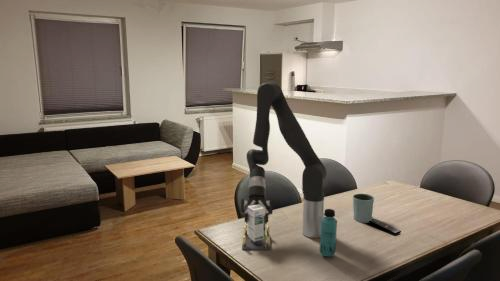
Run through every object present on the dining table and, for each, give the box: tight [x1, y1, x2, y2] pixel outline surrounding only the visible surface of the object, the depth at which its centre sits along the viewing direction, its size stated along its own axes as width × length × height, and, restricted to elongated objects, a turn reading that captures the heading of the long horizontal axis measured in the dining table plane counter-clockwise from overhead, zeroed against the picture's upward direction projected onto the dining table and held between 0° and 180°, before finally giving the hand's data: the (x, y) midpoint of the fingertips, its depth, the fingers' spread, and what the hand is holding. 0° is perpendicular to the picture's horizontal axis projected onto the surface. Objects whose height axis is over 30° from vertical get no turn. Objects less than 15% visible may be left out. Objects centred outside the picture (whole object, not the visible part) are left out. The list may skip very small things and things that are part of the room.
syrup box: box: [247, 204, 266, 242], centre depth 161 cm, size 6×6×14 cm
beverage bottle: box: [319, 208, 338, 257], centre depth 150 cm, size 6×7×20 cm
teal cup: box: [352, 193, 375, 224], centre depth 186 cm, size 10×10×12 cm
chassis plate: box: [241, 224, 271, 251], centre depth 162 cm, size 12×12×6 cm
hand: (256, 222), depth 159 cm, fingers closed on syrup box, 7 cm apart
